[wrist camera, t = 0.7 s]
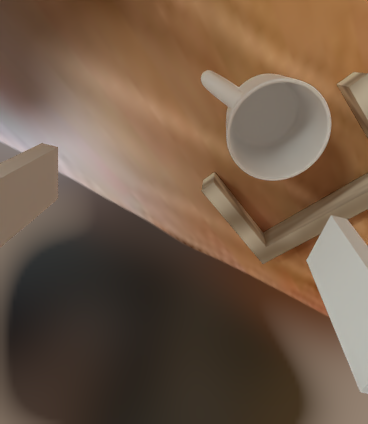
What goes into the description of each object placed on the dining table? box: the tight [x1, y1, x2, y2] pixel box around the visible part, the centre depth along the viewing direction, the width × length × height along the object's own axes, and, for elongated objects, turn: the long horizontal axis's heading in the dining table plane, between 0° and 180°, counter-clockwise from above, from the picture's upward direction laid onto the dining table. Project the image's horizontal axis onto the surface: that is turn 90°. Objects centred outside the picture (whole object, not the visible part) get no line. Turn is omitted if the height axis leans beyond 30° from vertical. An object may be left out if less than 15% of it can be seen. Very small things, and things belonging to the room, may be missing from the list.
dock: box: [201, 72, 368, 264], centre depth 34 cm, size 13×20×4 cm, turn 130°
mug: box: [201, 70, 331, 181], centre depth 28 cm, size 12×8×10 cm
